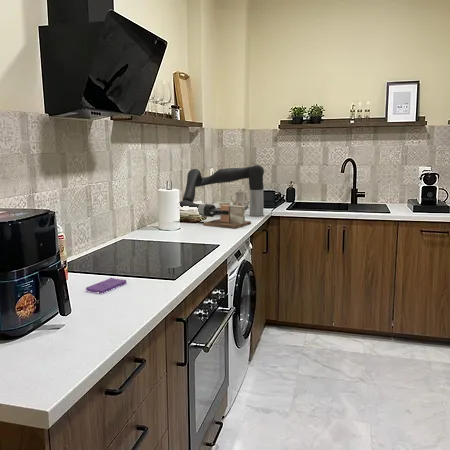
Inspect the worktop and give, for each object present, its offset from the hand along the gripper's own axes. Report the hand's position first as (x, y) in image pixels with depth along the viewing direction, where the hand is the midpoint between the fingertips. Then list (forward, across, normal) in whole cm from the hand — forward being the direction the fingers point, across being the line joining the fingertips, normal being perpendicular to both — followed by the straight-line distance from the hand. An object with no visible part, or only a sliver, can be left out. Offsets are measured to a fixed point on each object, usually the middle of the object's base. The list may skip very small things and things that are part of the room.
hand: (230, 212), depth 271 cm
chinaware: (-31, -57, -8) cm, 65 cm away
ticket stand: (-2, 0, -8) cm, 8 cm away
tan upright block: (-3, 0, -6) cm, 6 cm away
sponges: (+29, +122, -8) cm, 126 cm away
